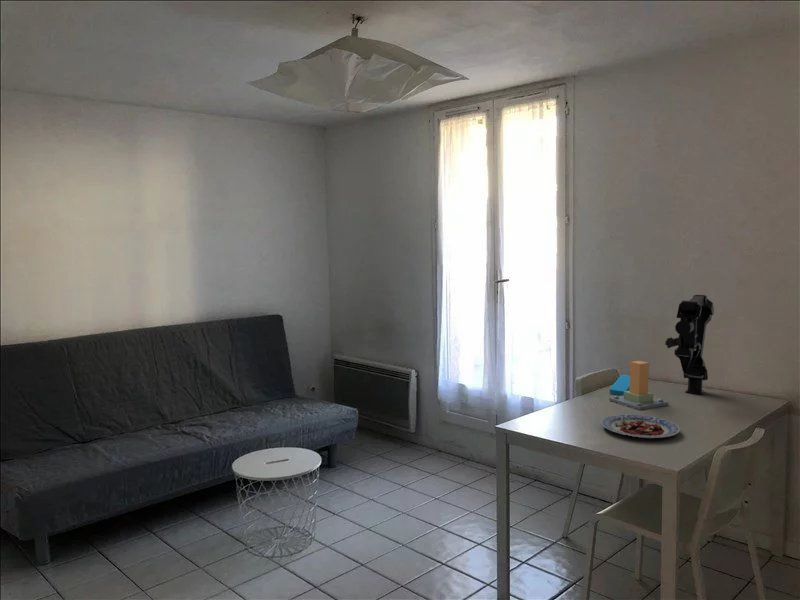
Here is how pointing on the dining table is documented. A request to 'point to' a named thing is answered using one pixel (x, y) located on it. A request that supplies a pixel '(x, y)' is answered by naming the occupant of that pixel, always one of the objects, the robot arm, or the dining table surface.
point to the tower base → (639, 405)
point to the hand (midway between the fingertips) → (687, 369)
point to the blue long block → (621, 385)
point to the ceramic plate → (640, 426)
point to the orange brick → (639, 377)
